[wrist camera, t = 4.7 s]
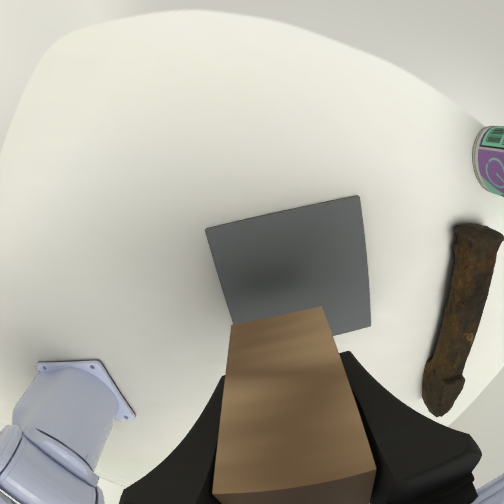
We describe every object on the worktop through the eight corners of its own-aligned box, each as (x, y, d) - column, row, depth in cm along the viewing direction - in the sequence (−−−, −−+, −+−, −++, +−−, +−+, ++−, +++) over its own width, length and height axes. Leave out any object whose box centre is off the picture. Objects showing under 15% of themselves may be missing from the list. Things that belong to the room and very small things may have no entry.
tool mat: (243, 351, 23) (243, 354, 22) (205, 228, 19) (204, 230, 19) (369, 323, 22) (370, 326, 21) (357, 195, 18) (359, 196, 18)
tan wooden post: (252, 386, 14) (250, 530, 7) (231, 324, 13) (212, 493, 6) (330, 371, 14) (367, 512, 7) (321, 305, 13) (376, 469, 5)
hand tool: (447, 219, 19) (483, 238, 15) (481, 220, 19) (517, 238, 15) (399, 400, 26) (414, 432, 21) (430, 393, 26) (447, 422, 21)
